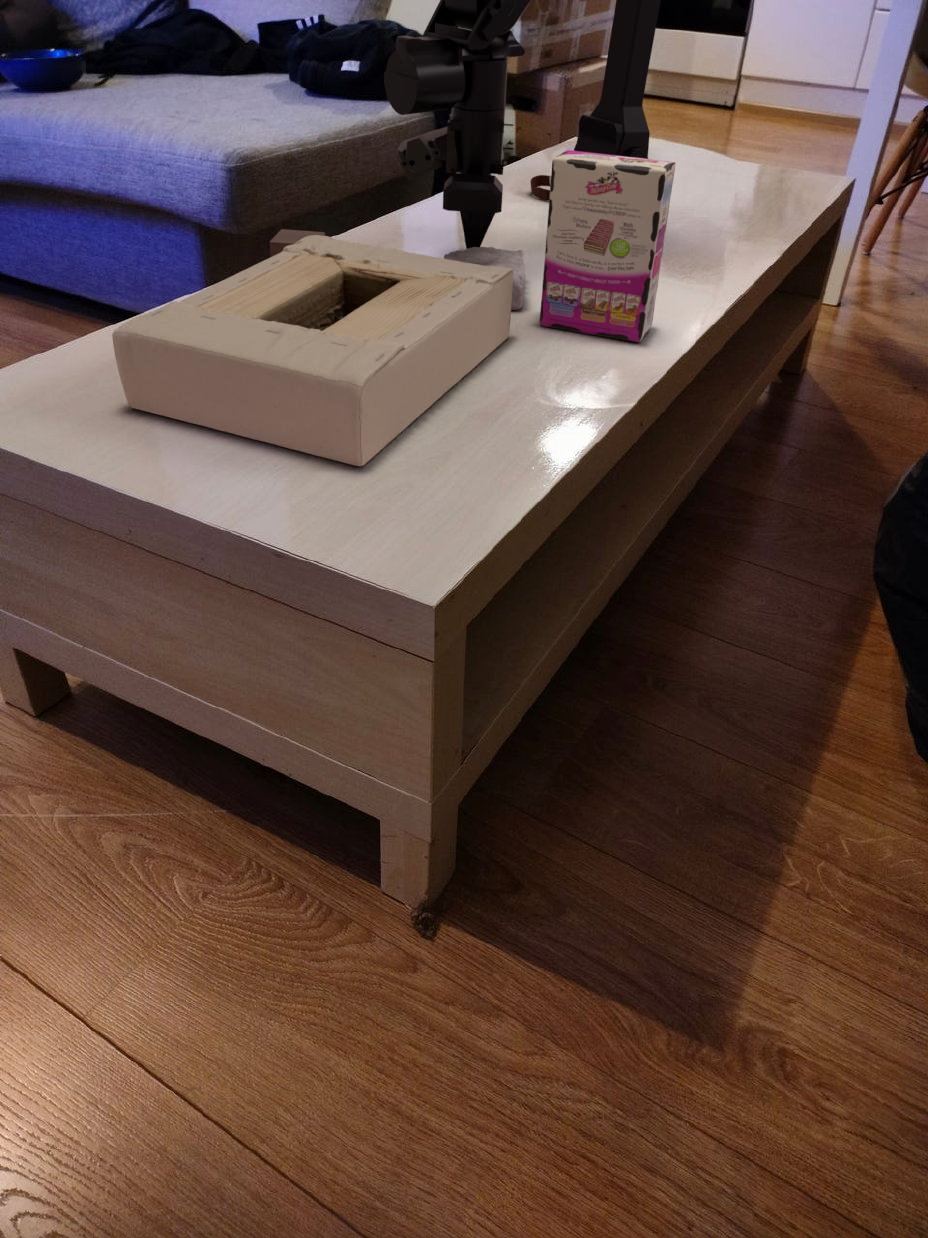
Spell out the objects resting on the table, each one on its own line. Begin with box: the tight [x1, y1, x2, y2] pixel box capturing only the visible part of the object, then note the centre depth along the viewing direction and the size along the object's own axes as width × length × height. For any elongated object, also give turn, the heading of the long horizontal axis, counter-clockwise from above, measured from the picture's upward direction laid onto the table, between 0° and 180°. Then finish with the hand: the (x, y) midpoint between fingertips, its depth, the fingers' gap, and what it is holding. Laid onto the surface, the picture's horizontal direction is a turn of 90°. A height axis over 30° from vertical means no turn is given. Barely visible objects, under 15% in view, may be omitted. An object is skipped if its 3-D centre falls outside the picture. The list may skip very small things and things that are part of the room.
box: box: [111, 235, 513, 467], centre depth 88 cm, size 23×8×32 cm
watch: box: [529, 174, 551, 201], centre depth 142 cm, size 8×5×4 cm, turn 48°
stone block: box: [443, 246, 526, 311], centre depth 108 cm, size 12×5×10 cm
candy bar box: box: [539, 149, 676, 343], centre depth 97 cm, size 11×5×16 cm, turn 68°
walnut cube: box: [268, 228, 326, 258], centre depth 108 cm, size 5×5×5 cm
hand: (471, 254), depth 113 cm, fingers closed
